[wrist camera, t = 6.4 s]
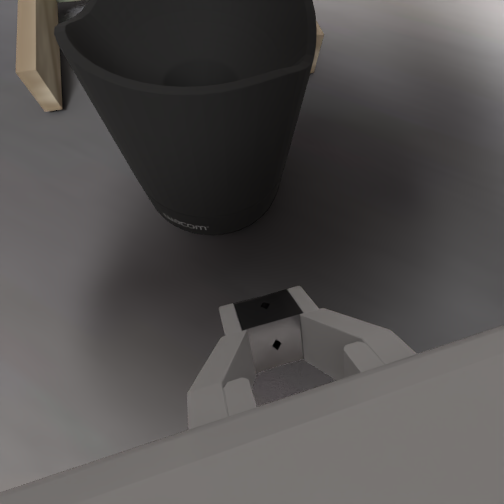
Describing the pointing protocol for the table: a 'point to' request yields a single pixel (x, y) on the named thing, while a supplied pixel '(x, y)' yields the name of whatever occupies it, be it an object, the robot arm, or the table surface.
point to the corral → (53, 51)
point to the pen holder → (197, 97)
